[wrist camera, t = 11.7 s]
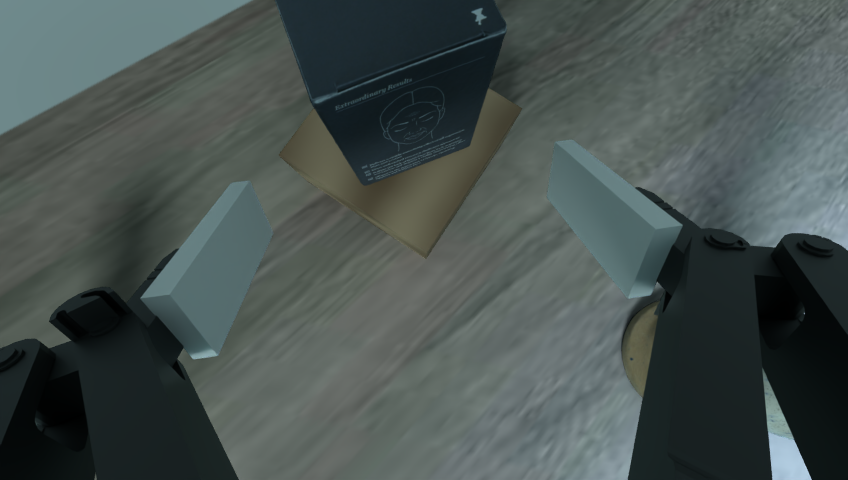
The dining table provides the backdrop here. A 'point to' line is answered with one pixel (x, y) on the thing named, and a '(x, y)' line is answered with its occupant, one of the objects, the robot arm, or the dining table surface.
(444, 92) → the box
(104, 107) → the dining table surface
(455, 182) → the tan square block
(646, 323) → the candle holder
